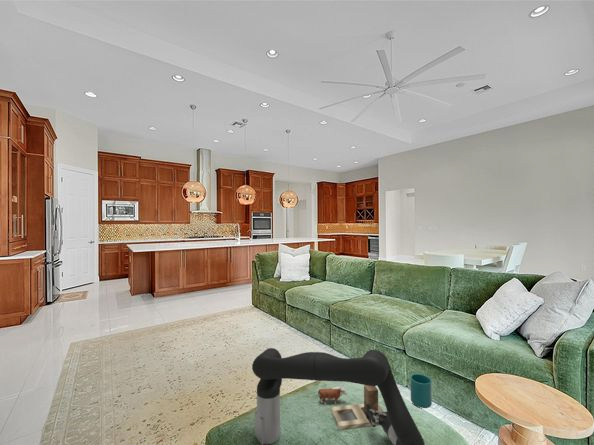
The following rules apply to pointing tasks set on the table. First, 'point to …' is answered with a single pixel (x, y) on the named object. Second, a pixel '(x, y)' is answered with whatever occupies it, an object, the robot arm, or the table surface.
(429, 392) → the cup
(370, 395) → the walnut block
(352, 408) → the puzzle board
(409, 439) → the robot arm
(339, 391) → the bull figurine
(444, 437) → the table surface
